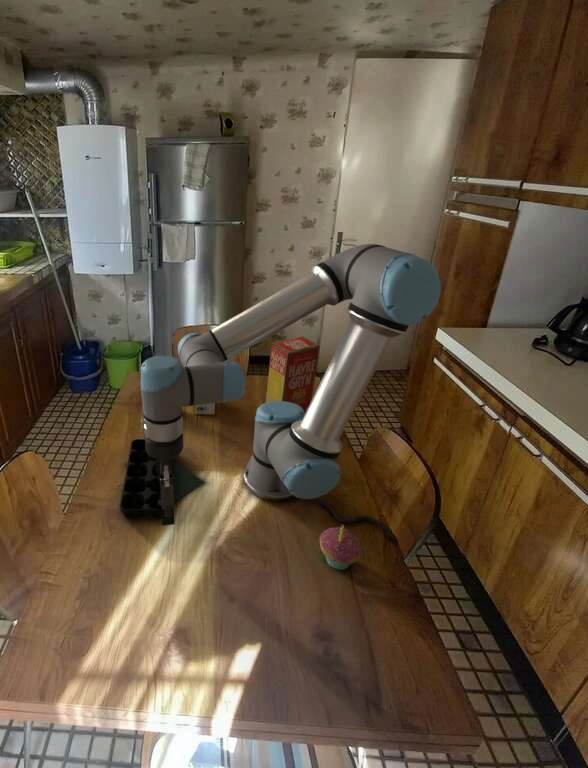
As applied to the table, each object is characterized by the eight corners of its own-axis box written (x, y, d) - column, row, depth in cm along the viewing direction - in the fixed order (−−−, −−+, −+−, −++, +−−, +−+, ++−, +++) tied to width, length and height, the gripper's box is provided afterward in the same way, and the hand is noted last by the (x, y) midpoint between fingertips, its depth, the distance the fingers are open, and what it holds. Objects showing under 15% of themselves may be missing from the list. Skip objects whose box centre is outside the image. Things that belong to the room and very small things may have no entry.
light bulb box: (214, 415, 146) (215, 386, 141) (194, 414, 146) (195, 386, 141) (214, 399, 156) (215, 372, 151) (195, 398, 156) (195, 371, 151)
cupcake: (351, 584, 88) (362, 541, 83) (311, 565, 92) (318, 523, 87) (362, 554, 95) (372, 513, 90) (323, 538, 99) (331, 497, 94)
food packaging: (280, 422, 142) (288, 352, 132) (263, 409, 150) (269, 341, 139) (311, 412, 148) (321, 344, 137) (293, 400, 156) (301, 335, 145)
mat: (204, 482, 115) (204, 482, 115) (173, 502, 109) (173, 502, 108) (157, 449, 128) (157, 448, 128) (126, 465, 122) (126, 464, 121)
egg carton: (122, 529, 100) (121, 517, 99) (113, 452, 127) (112, 441, 125) (195, 516, 104) (196, 504, 103) (172, 444, 130) (172, 433, 129)
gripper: (144, 416, 91) (150, 502, 101) (144, 454, 79) (151, 547, 89) (180, 414, 91) (182, 499, 102) (185, 451, 80) (188, 544, 90)
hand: (168, 522), depth 96 cm, fingers closed
